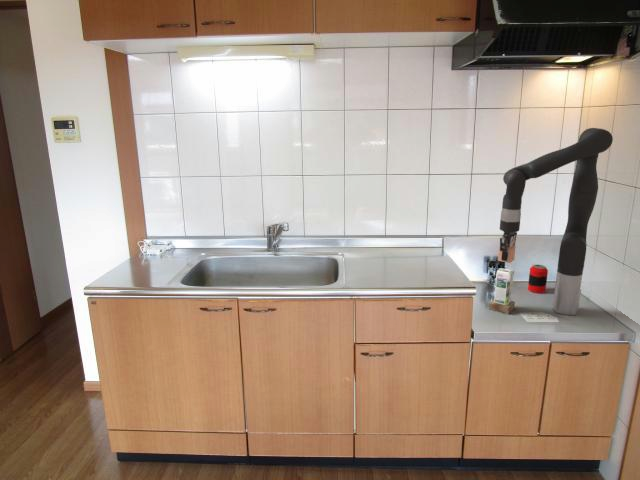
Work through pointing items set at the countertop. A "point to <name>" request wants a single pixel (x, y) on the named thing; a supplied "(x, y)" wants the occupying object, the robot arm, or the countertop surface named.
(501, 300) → the syrup box
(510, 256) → the terracotta block
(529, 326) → the countertop surface
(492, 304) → the walnut slab
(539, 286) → the soda can
